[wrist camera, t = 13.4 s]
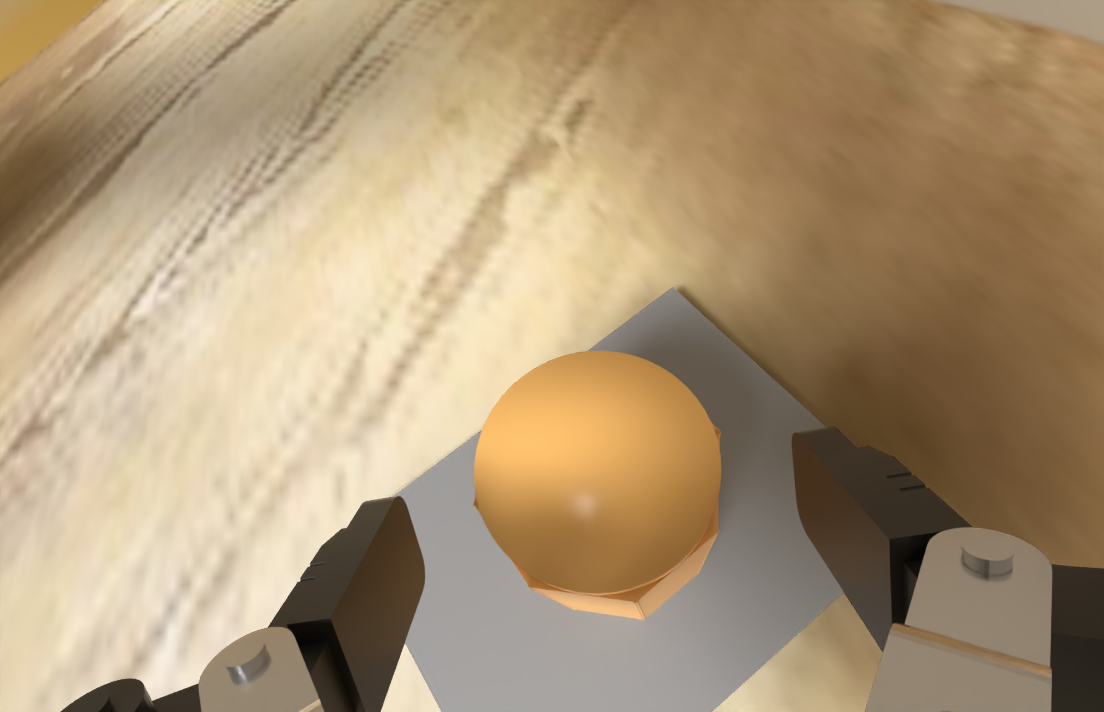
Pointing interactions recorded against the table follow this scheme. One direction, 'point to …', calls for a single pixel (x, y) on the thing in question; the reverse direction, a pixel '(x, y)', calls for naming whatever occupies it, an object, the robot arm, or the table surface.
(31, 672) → the table surface
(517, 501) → the orange domed hexagonal post
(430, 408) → the table surface
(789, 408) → the post board
